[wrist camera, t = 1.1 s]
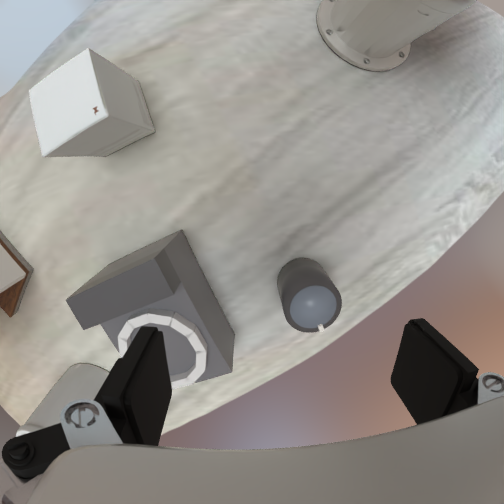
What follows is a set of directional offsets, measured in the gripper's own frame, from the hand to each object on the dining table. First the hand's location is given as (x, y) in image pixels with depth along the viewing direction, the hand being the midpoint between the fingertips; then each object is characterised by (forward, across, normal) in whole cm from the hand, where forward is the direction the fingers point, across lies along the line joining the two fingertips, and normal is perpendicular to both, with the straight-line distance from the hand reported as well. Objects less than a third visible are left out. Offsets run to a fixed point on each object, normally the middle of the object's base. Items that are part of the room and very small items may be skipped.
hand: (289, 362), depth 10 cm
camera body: (+25, +11, +9) cm, 29 cm away
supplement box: (+25, +16, -14) cm, 33 cm away
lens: (+25, -6, +6) cm, 26 cm away
